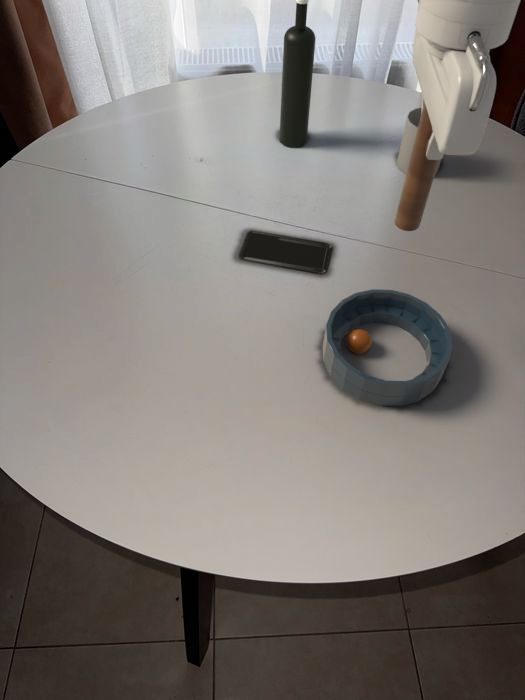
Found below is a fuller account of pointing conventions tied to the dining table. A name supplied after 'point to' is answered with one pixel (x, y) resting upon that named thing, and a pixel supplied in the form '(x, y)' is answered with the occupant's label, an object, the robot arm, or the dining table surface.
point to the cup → (409, 140)
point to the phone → (285, 252)
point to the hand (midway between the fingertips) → (429, 144)
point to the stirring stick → (417, 179)
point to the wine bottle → (297, 79)
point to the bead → (359, 341)
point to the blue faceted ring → (399, 313)
